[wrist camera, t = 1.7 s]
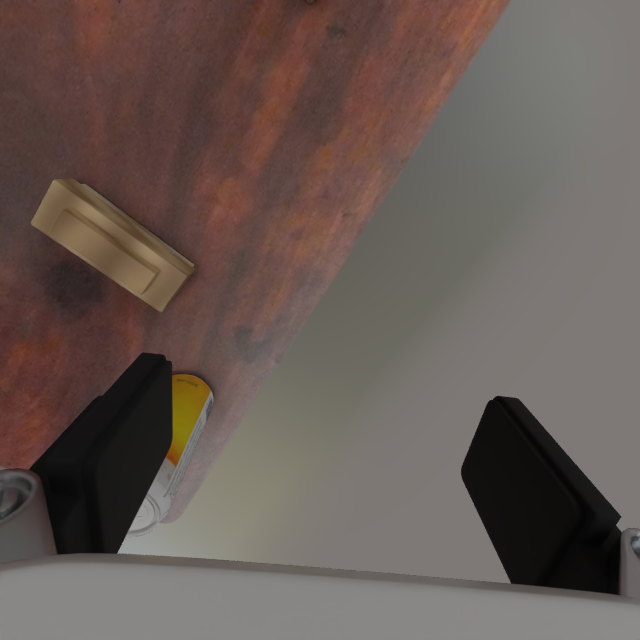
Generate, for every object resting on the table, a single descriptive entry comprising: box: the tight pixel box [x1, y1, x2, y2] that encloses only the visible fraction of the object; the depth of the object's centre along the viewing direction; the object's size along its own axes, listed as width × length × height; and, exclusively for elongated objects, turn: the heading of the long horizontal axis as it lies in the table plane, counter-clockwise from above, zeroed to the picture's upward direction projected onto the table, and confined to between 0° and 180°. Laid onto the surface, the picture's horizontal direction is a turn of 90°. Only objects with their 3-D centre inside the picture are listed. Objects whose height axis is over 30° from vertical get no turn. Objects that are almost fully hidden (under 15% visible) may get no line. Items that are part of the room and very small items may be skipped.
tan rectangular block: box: [30, 178, 195, 312], centre depth 31 cm, size 12×4×5 cm, turn 49°
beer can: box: [126, 374, 214, 537], centre depth 33 cm, size 6×6×15 cm
